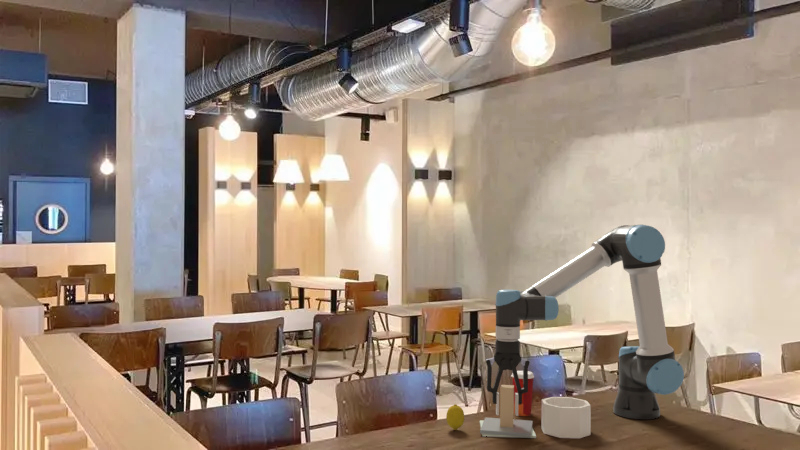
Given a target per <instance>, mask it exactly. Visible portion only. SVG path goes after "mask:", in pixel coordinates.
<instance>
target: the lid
mask: <svg viewBox="0 0 800 450" xmlns="http://www.w3.org/2000/svg"><path fill="white" fill-rule="evenodd" d="M499 389H500V390H499V391H500V393H499V417H498V418H497V417H496V418H495V417H485V416H484V422H483V424H482V427H480V429H479V434H481V435H482V434H495V435H508V436H522V437H531V431H532V428H533V424H534V423H533V422H534V421H533V420H528V419H526V420H525V419H515V414H514V385H513V384H501V385H500V388H499Z"/></svg>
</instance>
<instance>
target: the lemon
mask: <svg viewBox="0 0 800 450" xmlns="http://www.w3.org/2000/svg"><path fill="white" fill-rule="evenodd" d="M446 411H447V412H446V416H445V418H446V423H447V425H448V426H449V427H450V428H451V429H453V431H457V430H458V429H460V428H461V427H462V426H463V425H464V422H465V412H464V410H463V408H462V407H461V406H460V405H458V404H456V403H455V404H453V405H451V406H450V407H449V408H448V409H447V410H446Z"/></svg>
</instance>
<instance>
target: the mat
mask: <svg viewBox="0 0 800 450" xmlns="http://www.w3.org/2000/svg"><path fill="white" fill-rule="evenodd" d="M483 422H484V420H482V419H481V420H479V426H480V428H481V427H482V424H483ZM486 436H487V438H488V437H489V438H521V439H522V438H523V439H537V435H536V432H535V431H534V428H533V427H532V431H531V437H522V436H508V435H495V434H482V433H481V437H485V438H486Z"/></svg>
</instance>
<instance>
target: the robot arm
mask: <svg viewBox="0 0 800 450" xmlns="http://www.w3.org/2000/svg"><path fill="white" fill-rule="evenodd" d="M665 250H666V241H665V238H664V236H663V234H662V233H661V232H660V231H659V229H657V228H656V227H653V226H652V225H647V224H630V225H629V224H628V225H627V224H626V225H621V226H620V225H619V226H617V227H615V228H613V229H611V230H610V231H608V232H607V233H605V234H603V236H600V238H598V239H597V240H595V241H593V242H592V243H591V246H590V248H588V249H587V250H585V251H583V252H582V253H580V254H579V255H577V256H575V258H573V259H571V260H570V261H569V262H568V261H567V263H565V264H564V265H562V266H560V267H559V268H557V269H556V270H554V271H553V272H551V273H550V274H548V275H547V276H545V277H543V278H542V279H541V280H539V281H538V282H536V283H535V284H533V285H532V286H530V287H528V288H526V289H525V290H523V291H520V290H518V289H500V290H497V292H496V294H495V295H496V296H495V304H494V305H495V338H496V340H495V346H494V347H495V353H494V355H493V357H490V358H486V359H485V364H486V366H487V369H486V370H487V371H486V390H487V392H489V393H491V394H492V397H491V398H492V404H493V405H495V415H496V416H500V393H499V392H498V390H499V386H500V382H501V379H502V377H503V376H502V375H503V373H504V371H507V370H509V371H512V373H513V376H514V380H515V383H516V387H517V391H518V393H515V414H514V416H515V417H519V416H518V405H521V404H522V394H523V393H527V392H528V371H529V365H530V361H529V359H527V358H526V359H525V358H522V355H521V350H520V349H521V348H520V347H521V341H520V339H521V321H546V322H547V321H554V320H556V319H557V318H558V316H559V307H560V306H559V302H558V300H557V298H558V297H559V296H561V295H562V294H563V293H566V292H567V291H568V290H570V289H571V288H573V287H574V286H576V285H578V284H579V283H581V282H583V281H584V280H585V279H587V278H589V277H590V276H591V275H593V274H595V273H596V272H597V271H599V270H601V269H602V268H604V267H612V265H614V264H616V263H619V262H622V267H623V268H622V269H623V270H625V271H626V272H627V273H628V274H629V275H628V276H629V282H630V287H631V288H630V289H631V295H632V301H633V308H634V316H635V321H636V328H637V329H636V330H637V335H638V342H639V345H636V346H635V345H634V346H632V345H630V346H629V345H628V346H621V347H620V348H619V352H618V390H617V393H616V396H615V400H614V403H613V410H612V411H613V414H615V415H617V416H620V417H623V418H626V419H632V420H633V419H634V420H655V418H656V419H659V418H660V417H661V408H660V405H659V402H658V399H657V395H656V394H658V395H665V396H666V395H671V394H673V393H675V392H676V391H678V390H679V388H680V387H681V386H682V384H683V382H684V378H685V372H684V368H683V366H682V365H681V363H679V361H677V359H676V355H675V349H674V348H673V347H672V346H671V345H670V344H669V343H668V336H667V330H666V328H667V327H666V324H665V323H666V322H665V317H664V307H663V302H662V295H661V289H660V288H661V287H660V281H659V280H660V279H659V274H658V270H659V268H660V267H661V266H662V260H661V258H662V257H663V255H664V254H665ZM494 363H496V365H497V366H498V368H497V373H496V376H495V381H494V383H493V386H492V374H493V373H492V371H493V365H494ZM520 363H521V366H522V371H523V388H522V389H521V386H520V382H519V378H518V374H517V371H518V370H517V367H518V366H519V364H520ZM658 417H659V418H658Z"/></svg>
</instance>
